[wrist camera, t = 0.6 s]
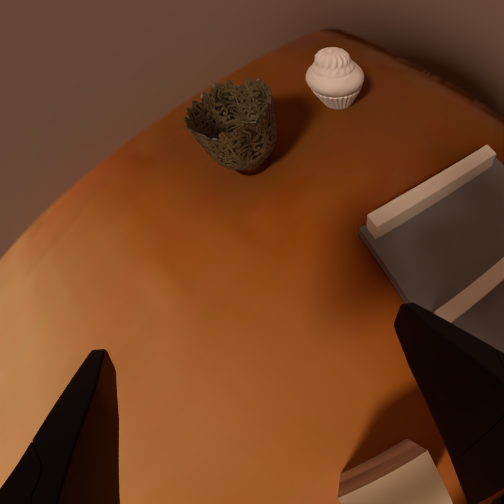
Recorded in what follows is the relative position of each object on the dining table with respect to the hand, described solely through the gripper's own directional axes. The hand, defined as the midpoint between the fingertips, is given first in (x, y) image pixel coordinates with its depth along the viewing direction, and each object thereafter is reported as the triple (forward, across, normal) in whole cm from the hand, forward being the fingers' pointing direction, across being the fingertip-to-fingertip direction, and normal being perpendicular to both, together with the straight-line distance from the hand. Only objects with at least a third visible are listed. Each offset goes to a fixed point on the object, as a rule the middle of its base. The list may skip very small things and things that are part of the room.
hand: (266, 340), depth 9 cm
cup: (+24, -5, +3) cm, 25 cm away
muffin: (+27, -15, -4) cm, 31 cm away
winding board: (+3, -20, +6) cm, 22 cm away
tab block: (-3, -8, +14) cm, 17 cm away
